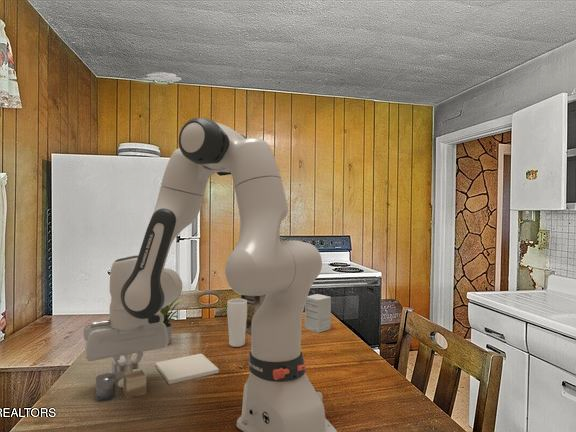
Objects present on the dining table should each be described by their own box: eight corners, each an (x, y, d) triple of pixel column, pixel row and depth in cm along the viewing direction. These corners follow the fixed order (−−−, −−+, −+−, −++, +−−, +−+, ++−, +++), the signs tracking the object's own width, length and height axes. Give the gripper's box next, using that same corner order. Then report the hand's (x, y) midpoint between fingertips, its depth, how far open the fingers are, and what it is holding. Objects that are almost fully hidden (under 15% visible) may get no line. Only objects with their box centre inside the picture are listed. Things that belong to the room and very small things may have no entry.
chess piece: (125, 378, 107) (125, 342, 107) (141, 380, 106) (141, 343, 106) (113, 386, 102) (113, 348, 102) (130, 388, 101) (130, 349, 101)
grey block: (132, 377, 108) (132, 361, 108) (114, 381, 106) (114, 364, 106) (129, 371, 112) (129, 355, 112) (111, 374, 109) (111, 358, 109)
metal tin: (117, 398, 96) (117, 378, 96) (97, 403, 93) (97, 382, 93) (114, 391, 100) (114, 371, 99) (94, 395, 97) (94, 375, 97)
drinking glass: (243, 349, 130) (243, 303, 130) (224, 347, 131) (224, 302, 131) (249, 342, 136) (249, 299, 136) (230, 340, 138) (231, 298, 138)
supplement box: (317, 325, 157) (317, 293, 157) (331, 329, 152) (331, 296, 152) (304, 328, 152) (304, 296, 152) (318, 333, 147) (318, 299, 147)
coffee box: (240, 331, 149) (240, 288, 148) (251, 326, 154) (251, 285, 154) (258, 335, 143) (259, 291, 143) (269, 331, 149) (269, 288, 148)
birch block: (146, 394, 98) (146, 376, 98) (126, 398, 96) (126, 380, 96) (142, 387, 102) (142, 369, 102) (123, 391, 100) (123, 373, 100)
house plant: (194, 337, 141) (194, 292, 140) (176, 351, 127) (176, 301, 127) (157, 335, 143) (157, 290, 143) (135, 348, 129) (135, 299, 129)
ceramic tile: (218, 372, 111) (218, 369, 111) (168, 384, 104) (168, 380, 104) (201, 356, 123) (201, 353, 123) (155, 365, 116) (155, 362, 115)
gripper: (84, 326, 95) (85, 383, 96) (169, 315, 106) (169, 366, 107) (82, 320, 101) (82, 374, 101) (163, 309, 112) (163, 358, 112)
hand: (128, 369), depth 104 cm, fingers closed on chess piece, 2 cm apart
